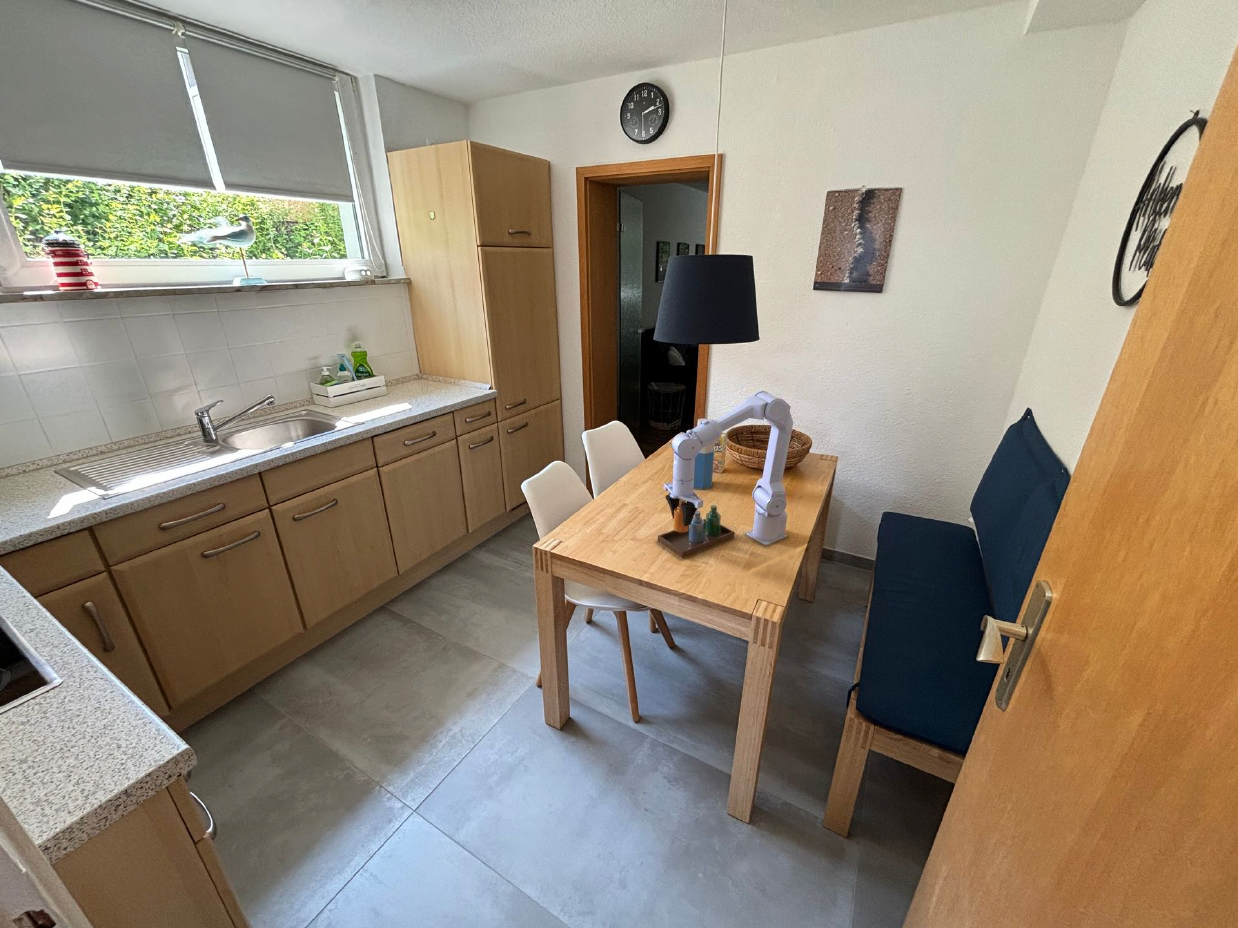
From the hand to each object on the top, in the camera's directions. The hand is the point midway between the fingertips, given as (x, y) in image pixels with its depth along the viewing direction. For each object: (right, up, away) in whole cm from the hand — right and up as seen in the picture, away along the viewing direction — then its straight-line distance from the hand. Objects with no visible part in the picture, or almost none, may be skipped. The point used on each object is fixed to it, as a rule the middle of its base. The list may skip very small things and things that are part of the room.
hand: (681, 521), depth 141 cm
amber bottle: (0, -2, +1) cm, 2 cm away
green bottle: (+11, -5, +10) cm, 15 cm away
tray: (+5, -7, +7) cm, 11 cm away
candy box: (+20, +14, +58) cm, 63 cm away
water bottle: (+12, +8, +45) cm, 47 cm away
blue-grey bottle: (+5, -6, +7) cm, 11 cm away
